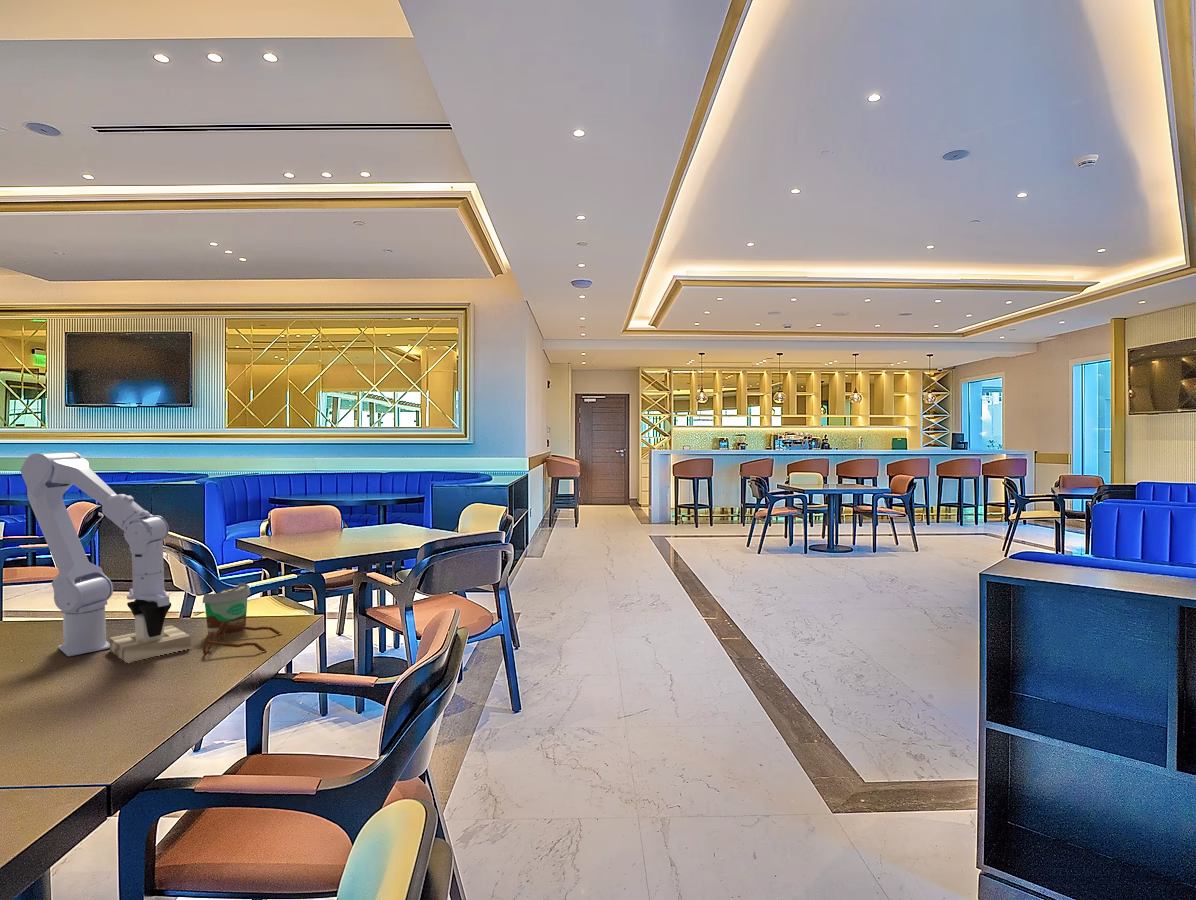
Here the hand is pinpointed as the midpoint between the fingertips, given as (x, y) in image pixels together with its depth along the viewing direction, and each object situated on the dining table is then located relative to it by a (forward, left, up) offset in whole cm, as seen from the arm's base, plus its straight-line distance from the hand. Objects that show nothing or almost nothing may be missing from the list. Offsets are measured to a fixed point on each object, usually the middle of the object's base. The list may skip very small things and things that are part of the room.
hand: (150, 634), depth 148 cm
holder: (0, 0, -4) cm, 4 cm away
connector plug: (0, 0, -2) cm, 2 cm away
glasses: (+12, +15, -4) cm, 20 cm away
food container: (-2, +18, -4) cm, 18 cm away
